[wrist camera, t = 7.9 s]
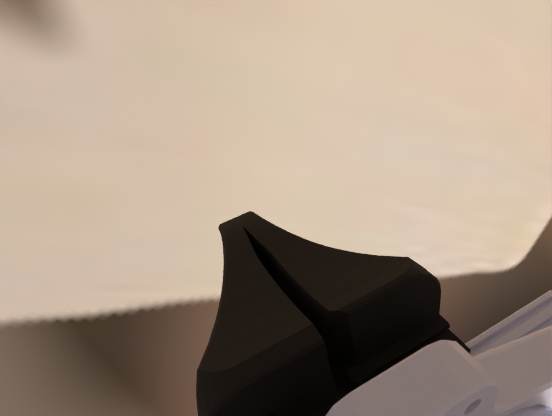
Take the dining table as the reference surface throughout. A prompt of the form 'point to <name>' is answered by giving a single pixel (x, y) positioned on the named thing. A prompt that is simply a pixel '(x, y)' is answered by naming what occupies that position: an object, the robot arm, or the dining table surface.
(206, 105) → the dining table surface
